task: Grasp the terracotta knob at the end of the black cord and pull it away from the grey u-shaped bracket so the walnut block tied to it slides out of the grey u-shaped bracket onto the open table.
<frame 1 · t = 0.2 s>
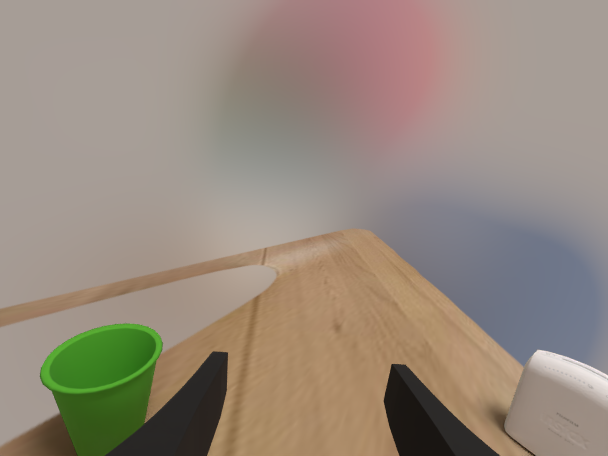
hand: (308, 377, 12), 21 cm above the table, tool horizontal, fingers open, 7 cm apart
cup: (112, 446, 29), on the table
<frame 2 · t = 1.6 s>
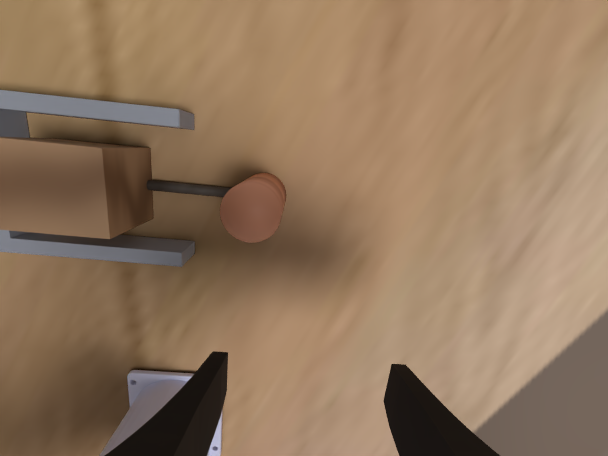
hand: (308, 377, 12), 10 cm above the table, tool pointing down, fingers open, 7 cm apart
grey u-shaped bracket: (115, 180, 20), on the table
tethered block: (108, 180, 20), on the table
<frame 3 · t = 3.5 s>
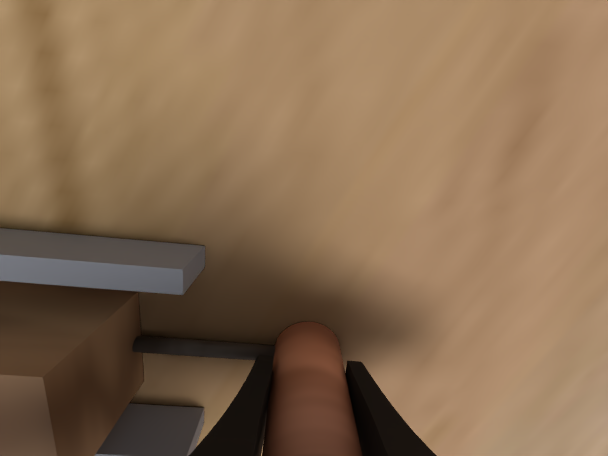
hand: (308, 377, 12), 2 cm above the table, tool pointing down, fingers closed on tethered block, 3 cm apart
grey u-shaped bracket: (87, 334, 13), on the table
tethered block: (76, 333, 13), on the table, touching gripper
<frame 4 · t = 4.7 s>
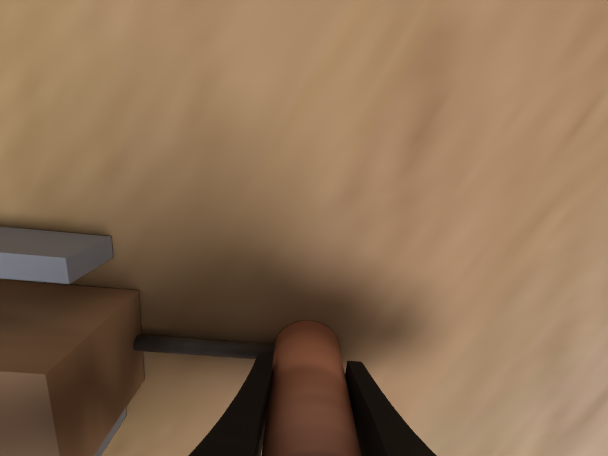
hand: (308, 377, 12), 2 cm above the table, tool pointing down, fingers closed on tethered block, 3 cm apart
tethered block: (77, 332, 13), on the table, touching gripper
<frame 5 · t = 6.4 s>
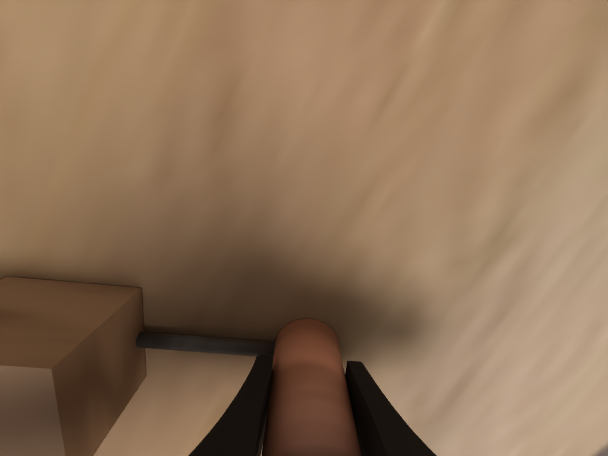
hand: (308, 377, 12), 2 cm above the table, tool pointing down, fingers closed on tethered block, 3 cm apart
tethered block: (80, 329, 14), on the table, touching gripper
when the fingers open (2 cm above the table, at t = 7.3 s): tethered block stays where it is, on the table.
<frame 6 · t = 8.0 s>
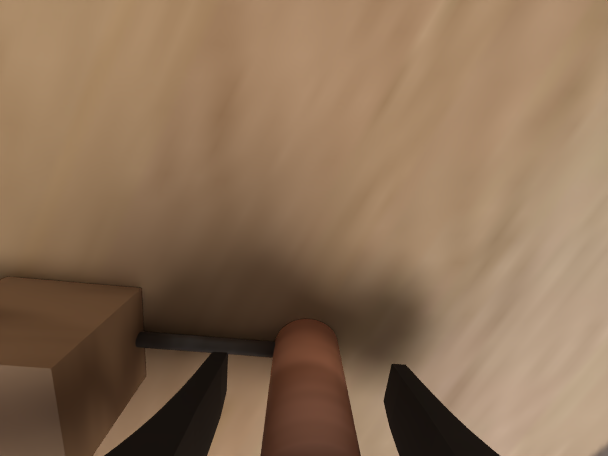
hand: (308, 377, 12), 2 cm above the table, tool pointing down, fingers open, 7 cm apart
tethered block: (80, 329, 14), on the table
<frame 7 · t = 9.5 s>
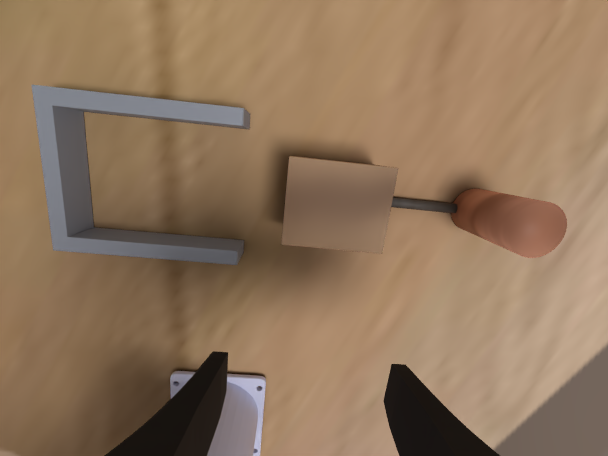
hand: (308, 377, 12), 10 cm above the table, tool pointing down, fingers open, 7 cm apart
grey u-shaped bracket: (168, 180, 20), on the table
tethered block: (328, 194, 21), on the table
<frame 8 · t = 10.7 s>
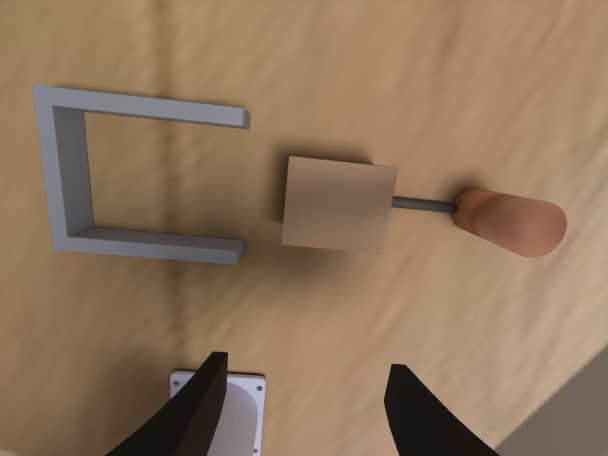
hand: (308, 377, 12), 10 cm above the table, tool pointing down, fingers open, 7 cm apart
grey u-shaped bracket: (168, 180, 20), on the table
tethered block: (328, 194, 21), on the table
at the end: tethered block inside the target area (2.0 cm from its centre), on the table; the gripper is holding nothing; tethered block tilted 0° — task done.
